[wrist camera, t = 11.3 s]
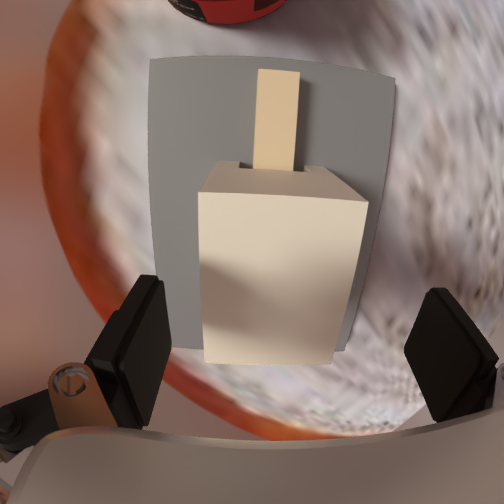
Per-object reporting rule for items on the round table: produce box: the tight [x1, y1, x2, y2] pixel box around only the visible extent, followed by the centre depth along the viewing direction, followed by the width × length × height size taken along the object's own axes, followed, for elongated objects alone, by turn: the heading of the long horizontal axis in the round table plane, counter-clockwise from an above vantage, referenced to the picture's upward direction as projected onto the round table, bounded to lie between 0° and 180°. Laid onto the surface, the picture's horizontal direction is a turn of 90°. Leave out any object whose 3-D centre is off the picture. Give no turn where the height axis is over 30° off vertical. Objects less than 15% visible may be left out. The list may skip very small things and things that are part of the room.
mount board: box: [148, 56, 395, 352], centre depth 18 cm, size 14×20×3 cm
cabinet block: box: [198, 161, 369, 365], centre depth 15 cm, size 6×9×7 cm
